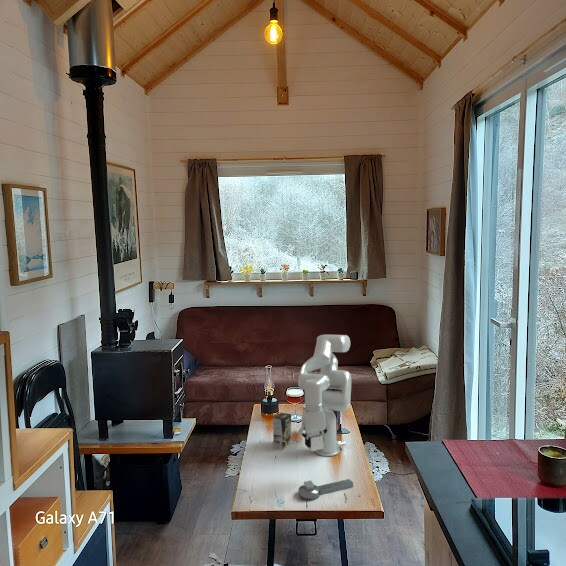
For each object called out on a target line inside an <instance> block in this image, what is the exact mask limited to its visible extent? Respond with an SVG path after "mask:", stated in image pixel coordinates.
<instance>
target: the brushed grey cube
mask: <svg viewBox="0 0 566 566" xmlns="http://www.w3.org/2000/svg"><path fill="white" fill-rule="evenodd" d="M309 439H310V448H308V449H309V451H311V452H315V450H319V449H324V445H323V435H322V434H321V433H320V432H313V433H310V436H309Z"/></svg>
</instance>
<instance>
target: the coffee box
mask: <svg viewBox="0 0 566 566" xmlns="http://www.w3.org/2000/svg"><path fill="white" fill-rule="evenodd" d="M272 428H273V429H272V432H273V433H272V435H273V436H272V437H273V438H272V439H273V442H272V443H273V448H274V449H279V450H282V449H283V451H284V450H285V449H287V446H288V445H289V444H290V445H292V444H291V443H293V440H292V439H293V438H292V436H293V435H292V433H293V432H292V413H286V412H279V414H277V415H276V416H274V417H273V418H272ZM290 445H289V446H290ZM289 446H288V447H289Z"/></svg>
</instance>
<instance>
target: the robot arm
mask: <svg viewBox="0 0 566 566" xmlns="http://www.w3.org/2000/svg"><path fill="white" fill-rule="evenodd" d="M315 343H316V344H315V348H314V353H313V356H311V357H310V358H309V359H308V360H307V361H305V362H304V363H303V364H302V365H301V367H300V370H299V375H298V378H297V385H298V388H299V389H301V390H303V391H304V409H303V411H302V417H301V427H300V428H299V429H298V431H297V433H298V434H299V435H301V436H302V437H303V438H304V445H305V446H306V448H308V449H309V448H310V439H309V436H310V433H313V432H320V433H321V434H322V435H323V445H324V449H319V450H314V452H315V453H316V454H317V455H319V456H321V457H322V456H323V457H333V456H336V455H337V456H338V454H339V453H340V452H341V451H340V450H341V449H340V447H344V446H346V442H345V441H341V440H337V439H338V438H337V417H336V414H335V411H338V412H339V411H340V412H346V411H349V409H350V407H351V406H350V405H351V396H352V395H351V393H352V374H351V373H350V372H349V371H348V370H343V369H338V368H339V367H338V364H339V360H338V358H337V357H336V355H335V354H334V353H347V352H348V351H349V350H350V347H351V339H350V337H349V336H348V335H347V334H321V335H319V336H317V338H316V342H315ZM316 370H320V373H311V372H313V371H316ZM328 389H330V390H328ZM333 389H334V390H333ZM337 390H338V391H337ZM340 390H341V391H340Z"/></svg>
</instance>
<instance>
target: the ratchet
mask: <svg viewBox="0 0 566 566" xmlns="http://www.w3.org/2000/svg"><path fill="white" fill-rule="evenodd" d="M351 488H354V482H353V481H352V479H350V478H347V479H343V480H339V481H334V482H330V483H326V484H321V485H315V484H314V483H313V481H312V480H310V479H309V480H307V481H304V482H303V484H302V485H301V486H299V487H298V498H300V499H301V500H303V501H308V500H311V501H315V500H318V499H319V498H320V496H321V495H324V494H329V493H333V492H338V491H341V490H347V489H351Z"/></svg>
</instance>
